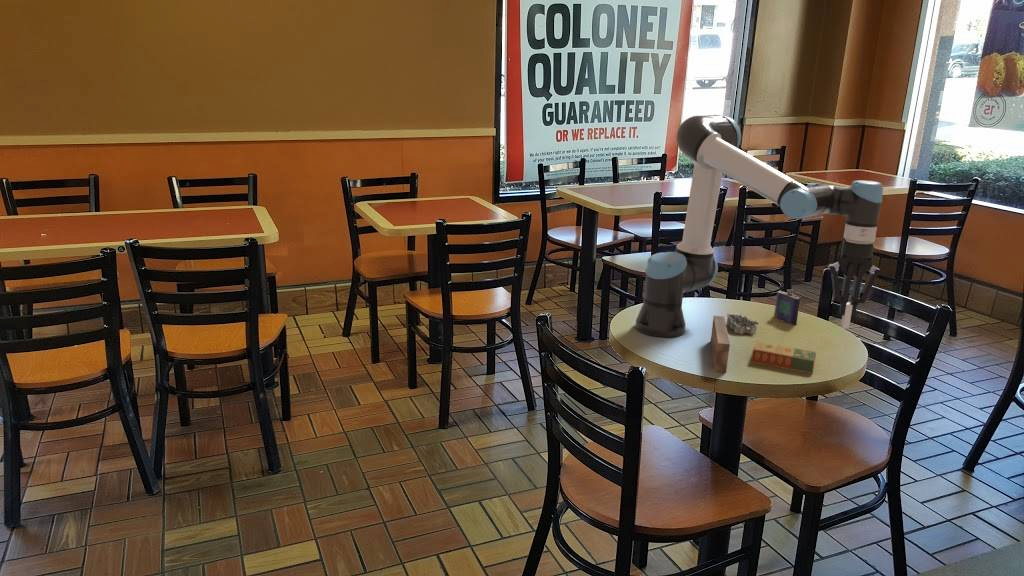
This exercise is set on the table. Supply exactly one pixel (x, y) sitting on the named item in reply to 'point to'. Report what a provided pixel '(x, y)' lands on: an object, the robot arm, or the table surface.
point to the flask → (787, 307)
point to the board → (719, 344)
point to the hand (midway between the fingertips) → (844, 326)
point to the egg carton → (741, 324)
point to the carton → (783, 357)
